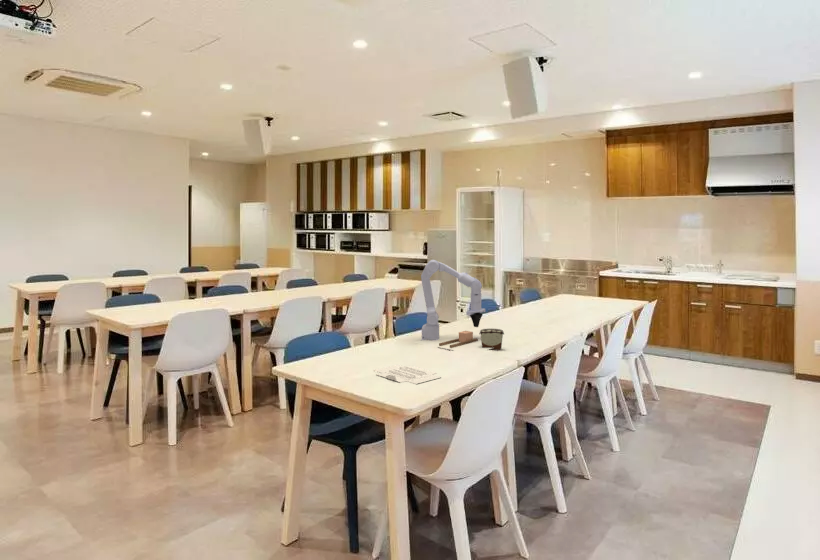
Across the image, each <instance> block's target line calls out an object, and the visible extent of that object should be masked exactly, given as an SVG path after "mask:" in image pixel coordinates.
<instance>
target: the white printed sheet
mask: <svg viewBox="0 0 820 560" xmlns="http://www.w3.org/2000/svg"><path fill="white" fill-rule="evenodd" d="M375 371H377V372H376V373H378V372H379V373H378V374H375V376H379V377H382V378H386V379H389V380H392V381H395V382H398V383H400V384H401V383H406V382H407V383H410V384H413V385H418V384H421V383H425V382H428V381H433V380H435V379H442V377H441V376H438V375H437V374H438V373H437V372H435V371H432V370H428V369H425V368H420V367H417V366H414V365H411V366H403V365H401V364H396V365H391V366H386V367H382V368H378V369H373V372H375Z"/></svg>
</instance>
